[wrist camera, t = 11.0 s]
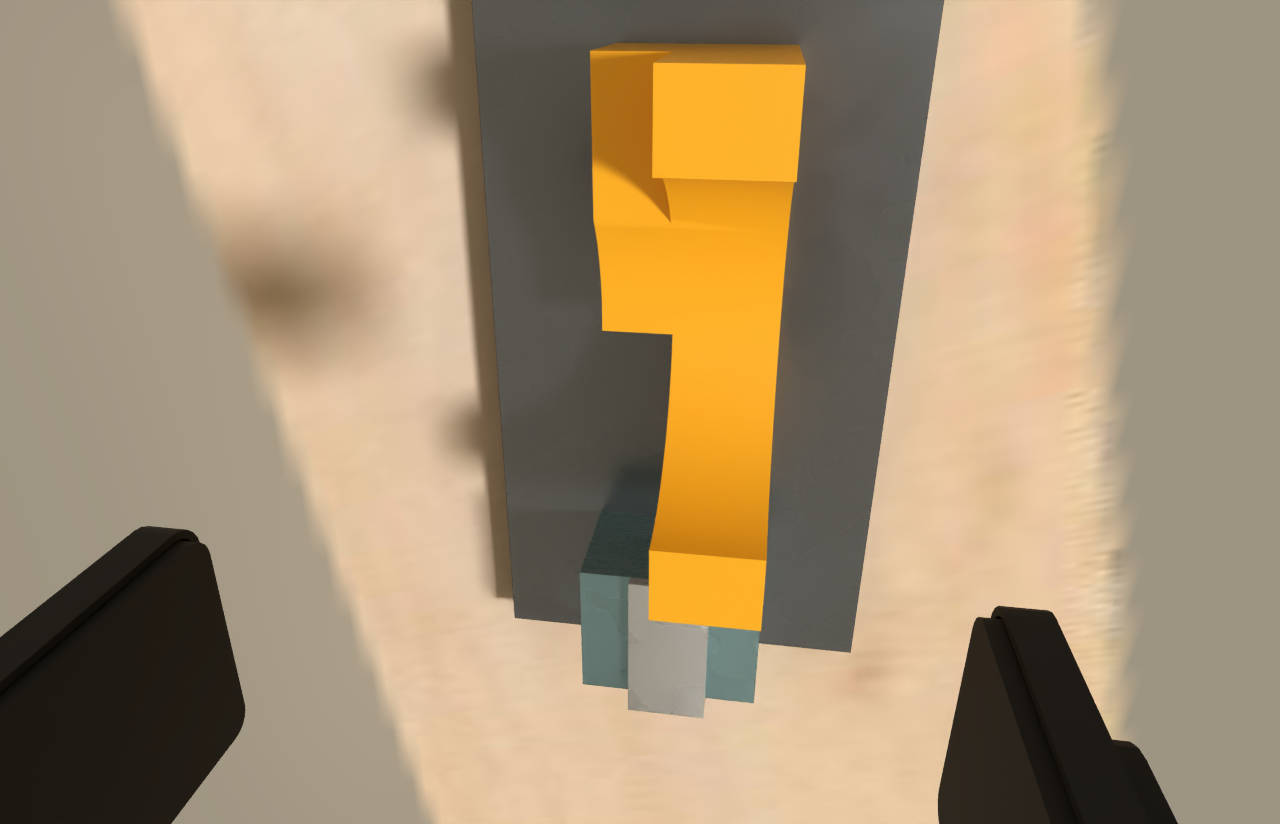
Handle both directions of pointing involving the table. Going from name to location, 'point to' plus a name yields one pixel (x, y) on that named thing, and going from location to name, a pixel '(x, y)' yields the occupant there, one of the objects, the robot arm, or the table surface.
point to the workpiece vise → (641, 362)
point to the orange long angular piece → (701, 291)
